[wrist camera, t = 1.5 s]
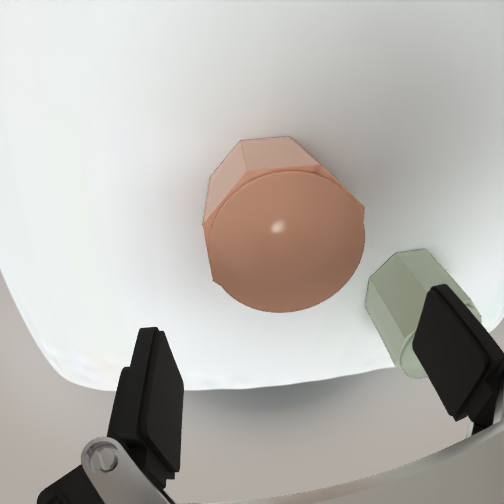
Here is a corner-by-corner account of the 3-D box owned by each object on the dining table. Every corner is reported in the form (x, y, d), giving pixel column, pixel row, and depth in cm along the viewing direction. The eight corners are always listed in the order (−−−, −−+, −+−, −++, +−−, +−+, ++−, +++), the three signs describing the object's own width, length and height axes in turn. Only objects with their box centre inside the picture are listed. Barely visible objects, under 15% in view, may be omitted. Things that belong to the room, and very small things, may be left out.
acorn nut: (444, 246, 25) (494, 298, 18) (426, 310, 29) (463, 365, 22) (372, 255, 25) (415, 320, 18) (361, 323, 29) (391, 388, 22)
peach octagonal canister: (321, 134, 20) (371, 165, 13) (322, 235, 23) (359, 303, 17) (205, 144, 19) (193, 181, 13) (220, 247, 23) (219, 321, 16)
